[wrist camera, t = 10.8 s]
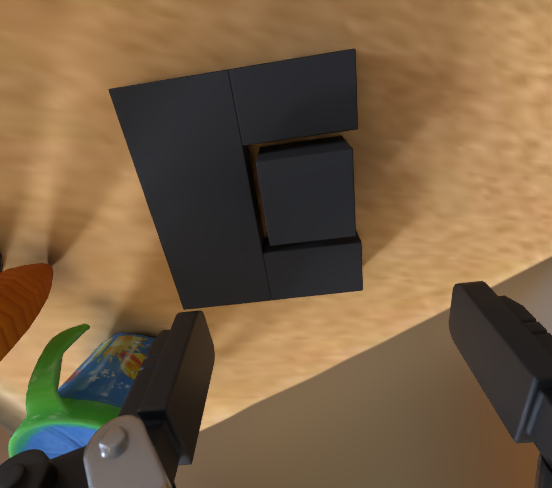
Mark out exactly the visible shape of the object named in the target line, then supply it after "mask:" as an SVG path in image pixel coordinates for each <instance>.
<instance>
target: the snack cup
mask: <svg viewBox="0 0 552 488" xmlns="http://www.w3.org/2000/svg"><path fill="white" fill-rule="evenodd" d="M89 328H90V326H89V325H88V324H82V325H79V326H76V327H72V328H70V329H67V330H65V331H63V332H61V333H59V334H58V335H56V336H55V337H53V338H52V339H51V340H50V342H49V343H48V344H47V346H46V347H45V349H44V350H43V352H42V354H41V356H40V357H39V359H38V361H37V364H36V366H35V368H34V371H33V373H32V376H31V378H30V381H29V385H28V391H27V394H26V411H27V418H26V419H25V420H24V421H23V422H22V423H21V425H20V426H19V427H18V429H17V430H16V431H15V433H14V434H13V436H12V438H11V439H10V442H9V447H8V448H9V456H10V458H11V457H13V456H14V455H16V454H18V453H20V452H23V451H26V450H30V449H38V450H41V451H43V452H44V453H45V454H46V455H47V456H48V457H49V459H52V458H55V457H58V456H60V455H63V454H65V453H68V452H71V451H73V450H76V449H78V448H81V447H83V446H85V445H87V444H88V442H89V440H90V439H91V437H92V436H93V435H94V433H95V432H96V431H97V430H98V429H99V428H100V427H102V426H103V425H104V424H106V423H107V422H108V421H110V420H112V419H114V418H117V417H118V415H119V413H120V411H121V408H122V406H123V404H124V402H125V400H126V397H127V395H128V393H129V391H130V389H131V387H132V384H133V382H134V380H135V378H136V376H137V373H138V371H140V367H141V365H142V362H143V360H144V359H145V358H146V357H145V356H146V354H147V352H148V349H149V347H150V345H151V343H152V342H153V341H154V340H155V338H156V337H154V338H150V337H147V336H144V335H140V334H135V333H122V332H121V333H118V334H115V335H114V336H112V337H111V338H109V339H108V340H106V341H105V342H103V343H102V344H101V345H100V346H99V347H98V348H97V349H96V350H95V351H94V352H93V353H92V354H91V355H90V356H89V357H88V358H87V359H86V360H85V361H84V362H83V363H82V364H81V365H80V367H79V368H78V369H77V370H76V371H75V372H74V373H73V374H72V375H71V376H70V377H69V378H68V379H67V381H65V382H64V383H63V385H62V386H61V387H60V388H59V389H58V385H59V379H60V371H61V363H62V357H63V353H64V352H65V351H66V350H67V349H68V348H69V347H70V346H71V345H72V344H73V343H74V342H75V341H76V340H77V339H78V338H79V337H80V336H81V335H82V334H83V333H84V332H85V331H87V330H88V329H89Z"/></svg>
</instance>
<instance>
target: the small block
mask: <svg viewBox="0 0 552 488" xmlns="http://www.w3.org/2000/svg"><path fill="white" fill-rule="evenodd" d="M256 168H257V173H258V179H259V185H260V191H261V197H262V203H263V208H264V214H265V220H266V226H267V232H268V238H269V244H270V246H273V245H282V244H290V243H299V242H307V241H316V240H324V239H333V238H341V237H350V236H356V224H355V196H354V168H353V149H352V147H351V146H350V145H349V144H348V143H347V141H346V140H345V139H344V138H343V137H342V136H335V137H328V138H321V139H314V140H307V141H300V142H293V143H286V144H279V145H272V146H265V147H260V149H259V153H258V156H257V160H256Z"/></svg>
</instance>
